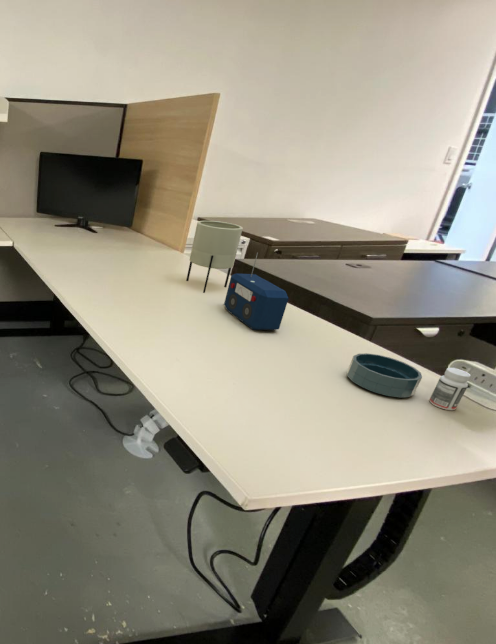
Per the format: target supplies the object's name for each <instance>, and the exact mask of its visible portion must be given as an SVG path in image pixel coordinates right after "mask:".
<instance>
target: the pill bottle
mask: <svg viewBox="0 0 496 644" xmlns="http://www.w3.org/2000/svg"><path fill="white" fill-rule="evenodd" d="M470 378H471V373H469V372H467V371H466V370H463V369H460V368H457V367H447V368H446V370H445V371H444V374H443V375H441V376H440V377H439V379H438V381H437V383H436V385H435V387H434V389H433V391H432V394H431V395H430V397H429V403H430V404H432V405H433V406H434V407H436V408H439V409H442V410H446V411H455V410H456V409H457V408H458V407H459V404H460V402H461V400H462V399H463V397H464V395H465V394H466V393H465V392H466V390H467V389H468V386H469V383H468V381H469V380H470Z"/></svg>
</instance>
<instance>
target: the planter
mask: <svg viewBox="0 0 496 644" xmlns="http://www.w3.org/2000/svg"><path fill="white" fill-rule="evenodd" d="M243 229H244V228H243V226H241V225H239V224H236V223H231V222H226V221H218V220H199V221H197V223H196V227H195V232H194V236H193V241H192V246H191V252H190V256H189V265H188V270H187V275H186V280H185V281H186V282H189V279H190V275H191V271H192V266H193V264H194V265H197V266H199V267H204V268H208V269H207V273H206V278H205V281H204V282H205V283H204V286H203V291H202V293H203V294H205V293H206V289H207V286H208V282H209V278H210V272H211V269H214V270H215V269H217V270H227V269H228V270H227V274H226V278H225V282H224V285H223V287H224V288H228V287H227V286H228V284H229V280H230V276H231V275H230V274H231V271H232V268H233V267H234V265H235V260H236V258H237V257H236V256H237V252H238V248H239V246H240V240H241V237H242V233H243Z"/></svg>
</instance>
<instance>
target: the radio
mask: <svg viewBox="0 0 496 644" xmlns="http://www.w3.org/2000/svg"><path fill="white" fill-rule="evenodd" d="M255 255H256V256H255V259H254V262H253V266H252V271H251V273H233V274H232V275H230V278H229V282H228V285H227V286H228V287H227V291H226V293H225V294H226V295H225V299H224V303H223V305H224V307H225V310H226V311H227V312H229V313H230V314H231V315H233V316H234V317H235V318H236V319H238V320H239V321H240V322H242V323H243V324H245V326H247V327H248V328H249V329H251V330H252V331H276V330H280V327H281V325H282V321H283V318H284V314H285V311H286V308H287V305H288V302H289V296H288V293H287V292H286V290H284V289H283V288H281V287H279V286H277V285H275V284H274V283H272V282H271V281H269V280H266V279H265V278H262V276H260V275H258V274H256V273H254V270H255V265H256V262H257V258H258V255H259V252H258V251H257V252H256V254H255Z"/></svg>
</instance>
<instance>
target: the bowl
mask: <svg viewBox="0 0 496 644" xmlns="http://www.w3.org/2000/svg"><path fill="white" fill-rule="evenodd" d="M346 377H347V378H349V380H350V382H353V383H354V384H356V385H358V386H359V387H361V388H363V389H365V390H367V391H370V392H372V393H375V394H378V395H382V396H386V397H393V398H411V397H412V396H414V394H415V393H416V391H417V389H418V387H419V385H420V383H421V381H422V379H423V376H422V372H420V371H419V370H418V369H417V368H415V367H414V366H412V365H410V364H408V363H406V362H404V361H402V360H398V359H396V358H394V357H393V358H392V357H390V356H384V355H381V354H376V353H367V352H365V353H357V354H355V355H353V356H352V358H351V360H350V364H349V366H348V368H347V371H346Z"/></svg>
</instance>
